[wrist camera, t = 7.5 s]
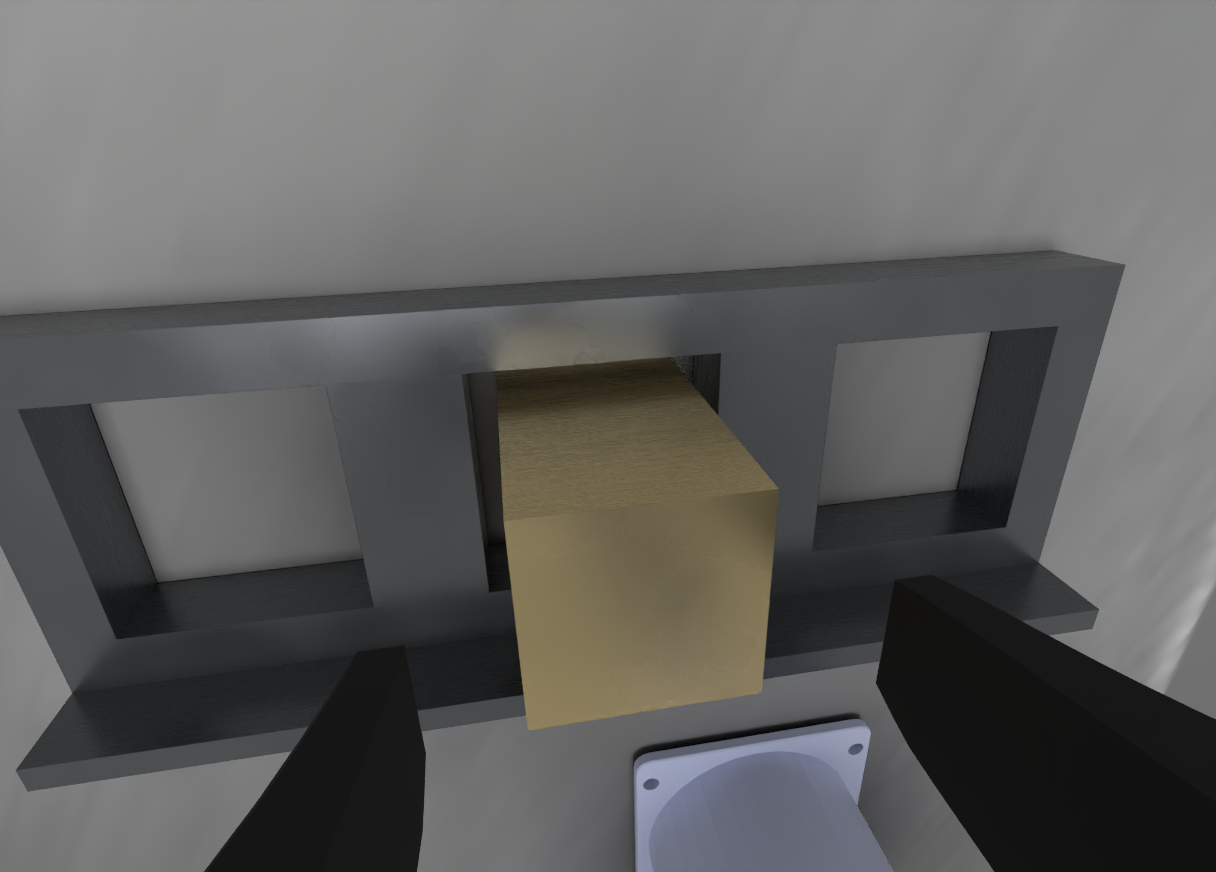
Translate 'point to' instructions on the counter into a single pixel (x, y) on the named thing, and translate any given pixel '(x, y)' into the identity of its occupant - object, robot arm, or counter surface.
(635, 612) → the brass peg
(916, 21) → the counter surface
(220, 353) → the charcoal rail
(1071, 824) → the robot arm
